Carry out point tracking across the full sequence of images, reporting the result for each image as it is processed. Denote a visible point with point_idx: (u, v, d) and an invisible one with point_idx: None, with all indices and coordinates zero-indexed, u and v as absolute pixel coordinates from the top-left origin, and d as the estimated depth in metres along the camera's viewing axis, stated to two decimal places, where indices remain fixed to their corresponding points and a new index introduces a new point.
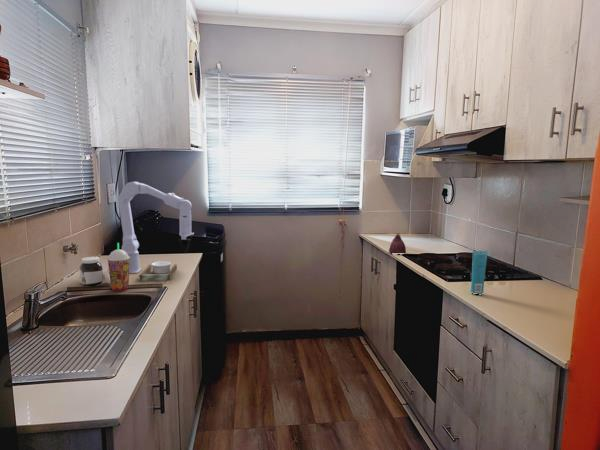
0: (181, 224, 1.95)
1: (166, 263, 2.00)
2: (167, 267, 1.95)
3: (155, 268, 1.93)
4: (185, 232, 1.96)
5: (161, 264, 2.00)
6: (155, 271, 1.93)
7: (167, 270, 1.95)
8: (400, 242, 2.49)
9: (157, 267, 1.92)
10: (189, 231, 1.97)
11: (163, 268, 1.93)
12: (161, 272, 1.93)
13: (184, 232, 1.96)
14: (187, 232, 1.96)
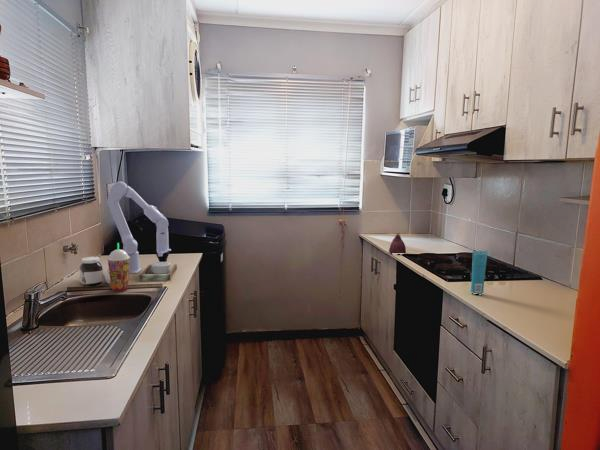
0: (159, 241, 1.97)
1: (166, 263, 1.99)
2: (167, 267, 1.93)
3: (155, 268, 1.92)
4: (162, 248, 1.97)
5: (161, 264, 1.99)
6: (155, 271, 1.92)
7: (167, 270, 1.94)
8: (400, 242, 2.49)
9: (157, 267, 1.91)
10: (166, 248, 1.99)
11: (162, 269, 1.92)
12: (161, 272, 1.92)
13: (161, 249, 1.97)
14: (164, 249, 1.98)
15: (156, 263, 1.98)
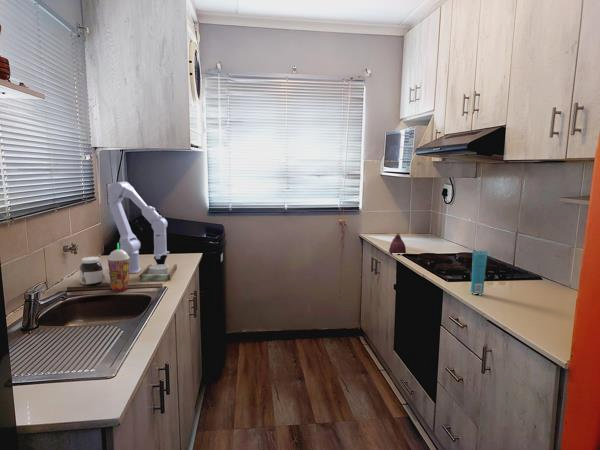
0: (155, 243, 1.92)
1: (164, 266, 1.93)
2: (165, 270, 1.88)
3: (152, 271, 1.86)
4: (160, 251, 1.92)
5: (158, 267, 1.93)
6: None
7: (165, 273, 1.88)
8: (400, 242, 2.49)
9: (154, 270, 1.86)
10: (164, 250, 1.93)
11: (160, 272, 1.86)
12: None
13: (159, 251, 1.92)
14: (162, 251, 1.92)
15: (154, 266, 1.92)
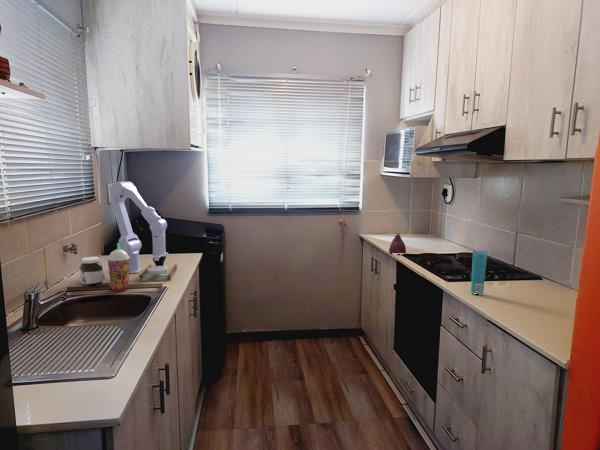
0: (153, 244, 1.89)
1: (162, 268, 1.90)
2: (164, 272, 1.85)
3: (151, 273, 1.83)
4: (159, 252, 1.89)
5: (157, 269, 1.90)
6: None
7: None
8: (400, 242, 2.49)
9: (153, 272, 1.83)
10: (163, 251, 1.90)
11: None
12: None
13: (157, 252, 1.89)
14: (160, 252, 1.89)
15: (152, 267, 1.89)
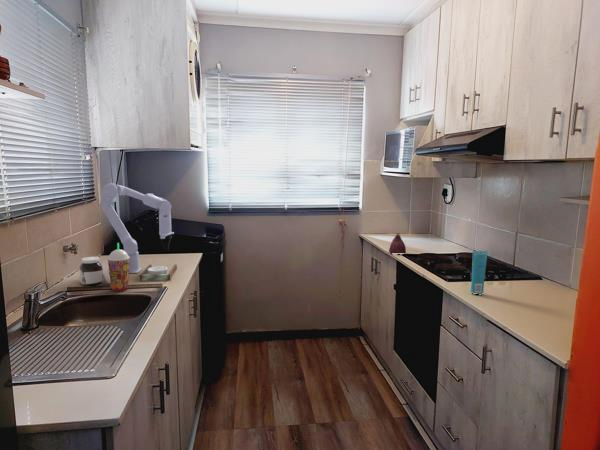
0: (162, 224, 1.97)
1: (162, 268, 1.90)
2: (164, 272, 1.85)
3: (151, 273, 1.83)
4: (165, 231, 1.97)
5: (157, 269, 1.90)
6: None
7: None
8: (400, 242, 2.49)
9: (153, 272, 1.83)
10: (169, 230, 1.99)
11: None
12: None
13: (164, 231, 1.97)
14: (167, 231, 1.98)
15: (152, 268, 1.89)
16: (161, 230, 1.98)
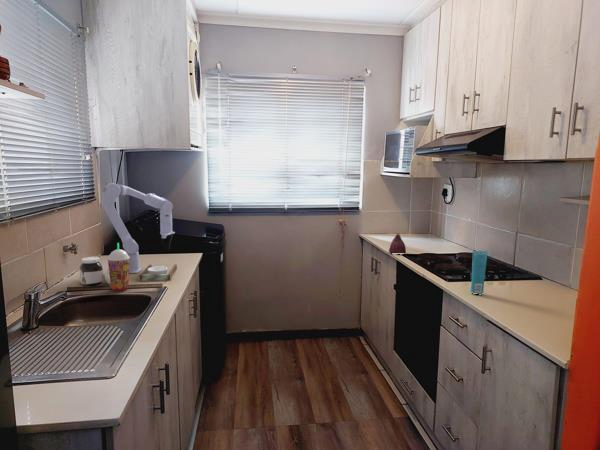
0: (163, 223, 1.98)
1: (162, 268, 1.90)
2: (164, 272, 1.85)
3: (151, 273, 1.83)
4: (166, 231, 1.99)
5: (157, 269, 1.90)
6: None
7: None
8: (400, 242, 2.49)
9: (153, 272, 1.83)
10: (170, 230, 2.00)
11: None
12: None
13: (165, 231, 1.99)
14: (168, 231, 1.99)
15: (152, 268, 1.89)
16: (162, 230, 1.99)
